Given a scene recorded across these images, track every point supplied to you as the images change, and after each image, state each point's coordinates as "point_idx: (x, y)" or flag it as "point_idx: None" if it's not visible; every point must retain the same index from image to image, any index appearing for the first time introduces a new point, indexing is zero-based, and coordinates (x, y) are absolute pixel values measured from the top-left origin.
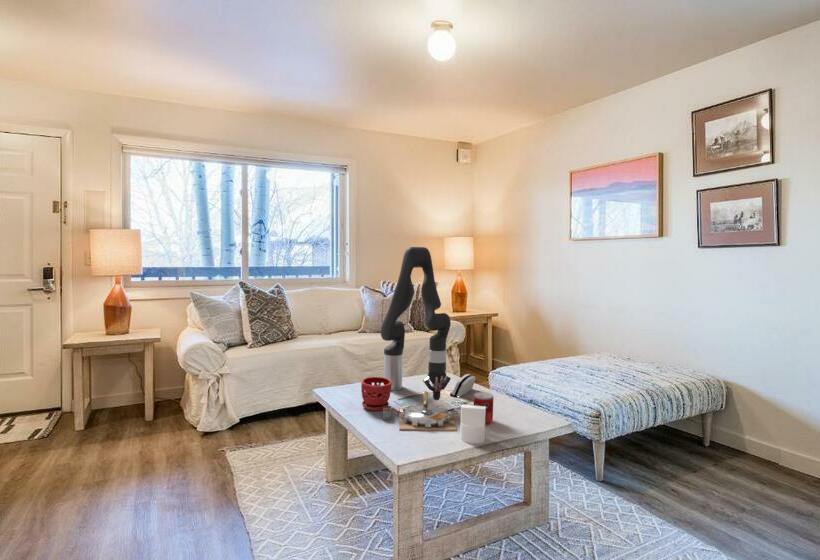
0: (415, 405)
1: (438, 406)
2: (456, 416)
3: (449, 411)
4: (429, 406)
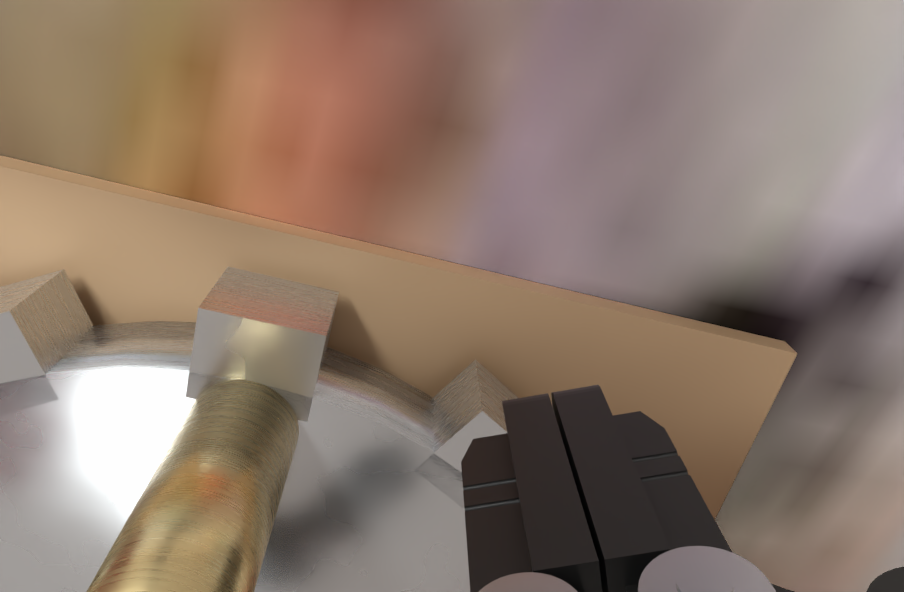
0: (9, 361)
1: None
2: None
3: (722, 452)
4: (332, 475)
